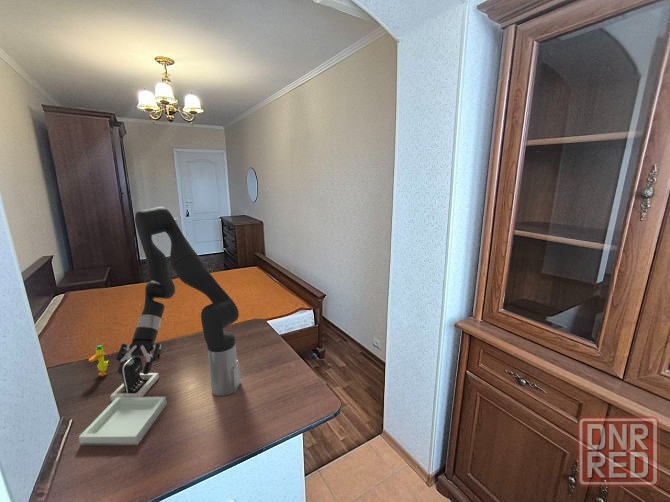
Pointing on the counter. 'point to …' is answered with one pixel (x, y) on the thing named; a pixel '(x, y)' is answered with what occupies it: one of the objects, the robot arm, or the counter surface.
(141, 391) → the white rectangular frame
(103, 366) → the toy figure
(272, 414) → the counter surface
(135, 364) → the battery charger
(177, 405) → the counter surface
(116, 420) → the tray
